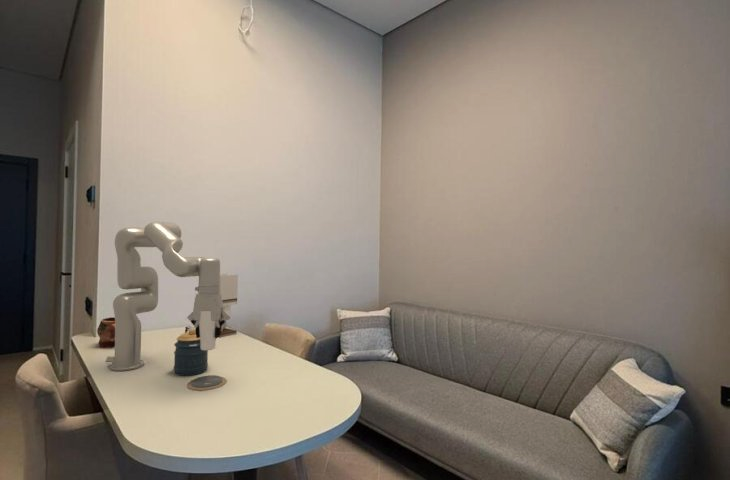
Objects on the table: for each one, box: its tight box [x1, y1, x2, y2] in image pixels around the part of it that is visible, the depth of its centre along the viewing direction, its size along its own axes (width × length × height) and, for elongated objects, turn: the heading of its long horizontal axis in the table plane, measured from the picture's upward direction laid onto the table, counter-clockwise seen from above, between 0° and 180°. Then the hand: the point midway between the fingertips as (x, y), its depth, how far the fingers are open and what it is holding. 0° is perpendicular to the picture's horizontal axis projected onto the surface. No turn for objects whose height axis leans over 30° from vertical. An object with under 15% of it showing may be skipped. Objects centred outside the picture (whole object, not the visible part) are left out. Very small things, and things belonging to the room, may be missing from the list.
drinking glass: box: [199, 311, 217, 352], centre depth 144 cm, size 7×7×15 cm
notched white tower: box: [218, 273, 239, 339], centre depth 222 cm, size 11×11×35 cm
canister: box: [173, 329, 209, 377], centre depth 158 cm, size 13×13×18 cm
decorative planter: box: [96, 316, 115, 349], centre depth 193 cm, size 20×12×14 cm, turn 50°
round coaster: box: [186, 374, 228, 391], centre depth 144 cm, size 14×14×1 cm
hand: (208, 336), depth 144 cm, fingers closed on drinking glass, 6 cm apart
